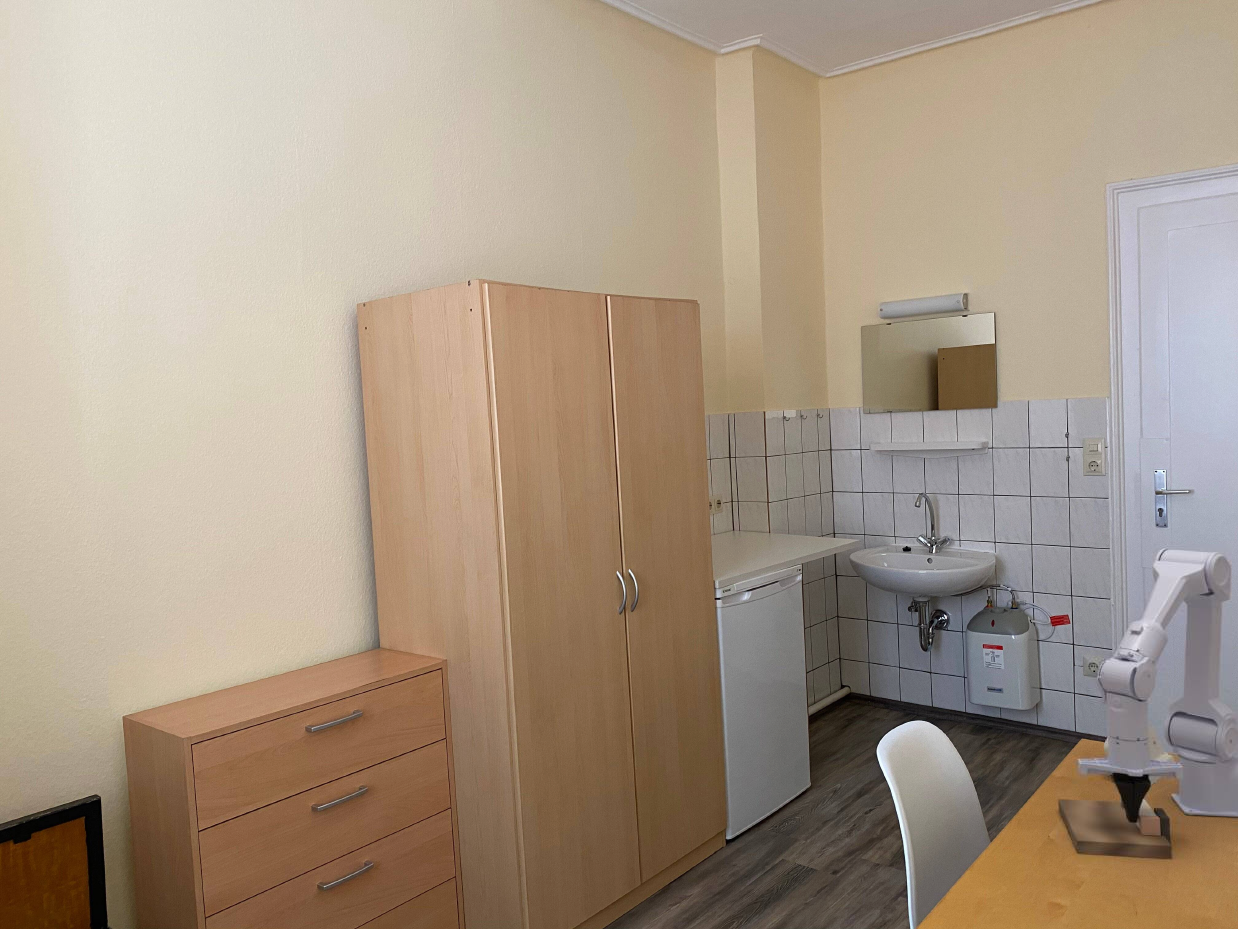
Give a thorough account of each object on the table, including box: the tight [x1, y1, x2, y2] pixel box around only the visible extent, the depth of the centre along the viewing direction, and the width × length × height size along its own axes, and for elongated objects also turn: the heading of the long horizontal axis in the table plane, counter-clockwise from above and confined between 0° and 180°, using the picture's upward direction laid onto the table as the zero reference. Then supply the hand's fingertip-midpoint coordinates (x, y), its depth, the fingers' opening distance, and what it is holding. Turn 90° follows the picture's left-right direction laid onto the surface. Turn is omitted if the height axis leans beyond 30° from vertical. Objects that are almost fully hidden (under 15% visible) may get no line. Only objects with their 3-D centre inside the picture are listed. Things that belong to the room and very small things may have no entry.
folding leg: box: [1120, 797, 1161, 836], centre depth 150 cm, size 13×3×3 cm, turn 165°
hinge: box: [1103, 722, 1176, 786], centre depth 174 cm, size 17×5×10 cm, turn 131°
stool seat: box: [1057, 798, 1173, 860], centre depth 150 cm, size 14×16×5 cm
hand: (1131, 820), depth 147 cm, fingers closed
